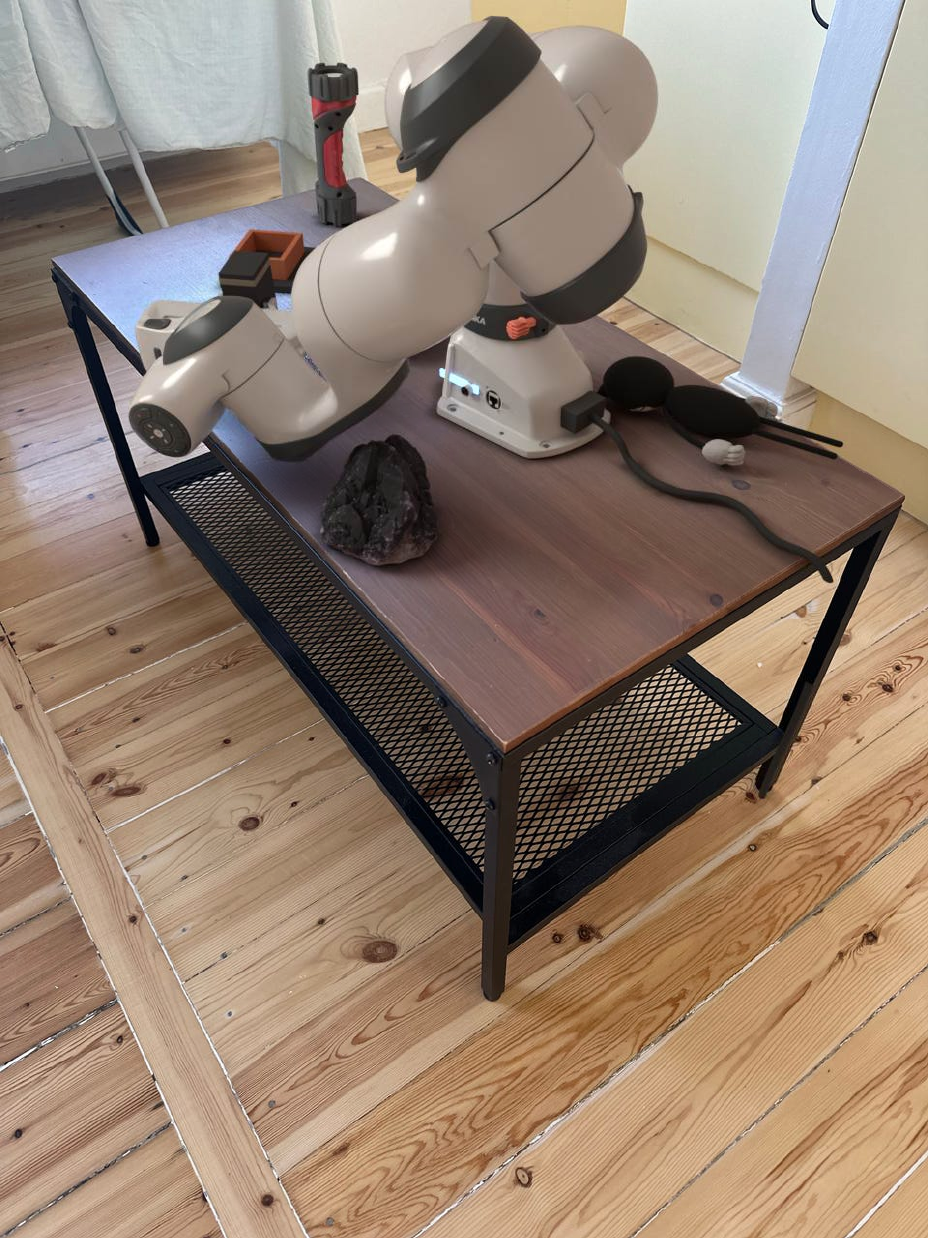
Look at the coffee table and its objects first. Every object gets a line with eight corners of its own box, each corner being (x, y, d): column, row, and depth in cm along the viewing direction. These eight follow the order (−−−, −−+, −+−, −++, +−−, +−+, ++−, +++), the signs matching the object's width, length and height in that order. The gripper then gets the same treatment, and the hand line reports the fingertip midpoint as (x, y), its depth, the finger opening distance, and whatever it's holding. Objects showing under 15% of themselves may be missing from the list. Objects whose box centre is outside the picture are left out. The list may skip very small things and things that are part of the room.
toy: (854, 437, 110) (626, 368, 122) (866, 392, 103) (622, 323, 115) (809, 524, 106) (578, 443, 118) (818, 483, 99) (571, 402, 111)
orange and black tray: (316, 253, 146) (314, 228, 144) (292, 293, 137) (288, 267, 134) (249, 248, 147) (245, 223, 145) (220, 287, 138) (215, 261, 135)
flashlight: (370, 228, 153) (361, 73, 137) (323, 232, 152) (308, 76, 136) (362, 210, 159) (352, 58, 142) (317, 214, 157) (302, 61, 141)
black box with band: (281, 325, 121) (269, 252, 114) (267, 350, 117) (253, 275, 110) (248, 323, 122) (234, 249, 115) (233, 347, 118) (217, 273, 111)
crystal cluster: (364, 595, 92) (370, 518, 85) (288, 519, 98) (288, 442, 91) (465, 546, 99) (478, 472, 92) (388, 479, 105) (394, 404, 98)
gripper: (296, 338, 103) (327, 283, 112) (120, 322, 105) (166, 269, 114) (302, 388, 107) (332, 331, 117) (133, 372, 109) (177, 317, 119)
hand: (248, 300), depth 115 cm, fingers closed on black box with band, 4 cm apart
